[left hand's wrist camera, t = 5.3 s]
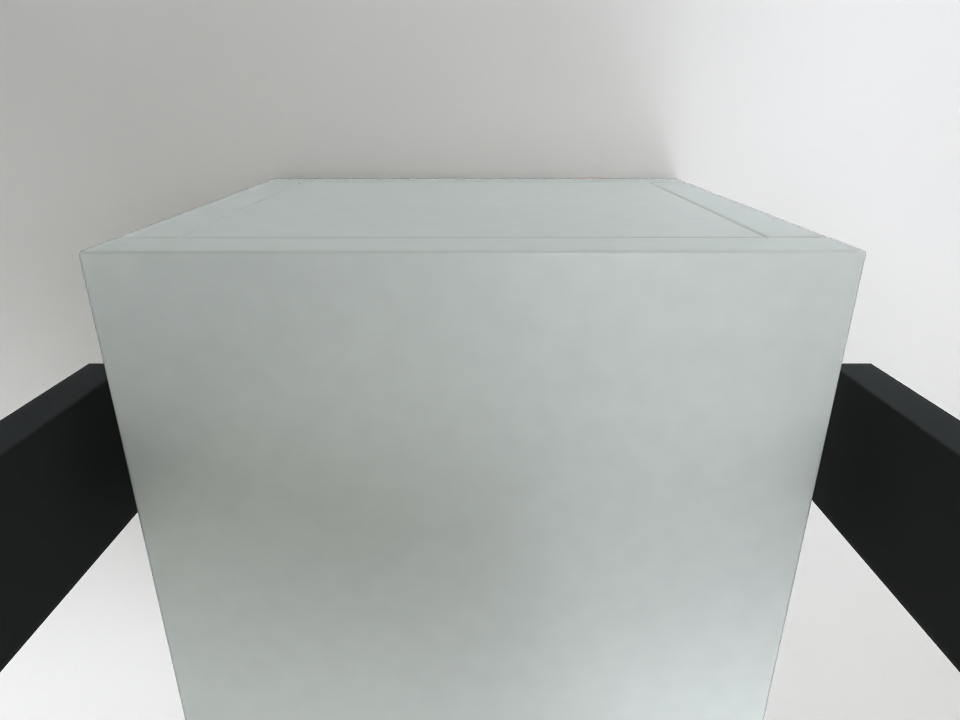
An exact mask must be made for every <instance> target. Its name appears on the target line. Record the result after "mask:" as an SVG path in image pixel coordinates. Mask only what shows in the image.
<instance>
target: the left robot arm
mask: <svg viewBox="0 0 960 720" xmlns="http://www.w3.org/2000/svg"><path fill="white" fill-rule="evenodd" d="M812 500H813V502H814V503H815V504H816V505H817V506H818V507H819V509H820V510H821V511H822V512H823V513H824V514H825V516H826V517H827V518H828V519H829V520H830V521H831V523H832V524H833V525H834V526H835V527H836V528H837V530H838V531H839V532H840V533H841V534H842V535H843V537H844V538H845V539H846V540H847V541H848V542H849V544H850V545H851V546H852V547H853V548H854V549H855V551H856V552H857V553H858V554H859V555H860V556H861V558H862V559H863V560H864V561H865V562H866V563H867V565H868V566H869V567H870V568H871V569H872V570H873V572H874V573H875V574H876V575H877V576H878V577H879V579H880V580H881V581H882V582H883V583H884V584H885V586H886V587H887V588H888V589H889V590H890V591H891V593H892V594H893V595H894V596H895V597H896V598H897V599H898V601H899V602H900V603H901V604H902V605H903V606H904V608H905V609H906V610H907V611H908V612H909V613H910V615H911V616H912V617H913V618H914V619H915V620H916V622H917V623H918V624H919V625H920V626H921V627H922V629H923V630H924V631H925V632H926V633H927V634H928V636H929V637H930V638H931V639H932V640H933V641H934V643H935V644H936V645H937V646H938V647H939V648H940V650H941V651H942V652H943V653H944V654H945V655H946V657H947V658H948V659H949V660H950V661H951V662H952V664H953V665H954V666H955V667H956V668H957V669H958V671H959V672H960V420H958V419H956V418H955V417H953V416H952V415H950V414H949V413H947V412H946V411H944V410H942V409H941V408H939V407H938V406H936V405H935V404H933V403H931V402H930V401H928V400H927V399H925V398H924V397H922V396H921V395H919V394H917V393H916V392H914V391H913V390H911V389H910V388H908V387H907V386H905V385H903V384H902V383H900V382H899V381H897V380H896V379H894V378H892V377H891V376H889V375H888V374H886V373H885V372H883V371H882V370H880V369H878V368H877V367H875V366H874V365H872V364H842V365H841V369H840V374H839V378H838V383H837V387H836V392H835V396H834V401H833V405H832V410H831V414H830V419H829V424H828V428H827V433H826V437H825V442H824V446H823V451H822V455H821V460H820V464H819V469H818V474H817V478H816V483H815V487H814V492H813V496H812ZM137 512H138V510H137V506H136V501H135V497H134V493H133V488H132V484H131V479H130V475H129V471H128V466H127V462H126V458H125V453H124V449H123V444H122V440H121V436H120V431H119V427H118V423H117V418H116V414H115V410H114V405H113V401H112V396H111V392H110V388H109V383H108V379H107V375H106V370H105V366H104V364H88V365H86V366H85V367H83V368H82V369H80V370H78V371H77V372H75V373H74V374H72V375H71V376H69V377H68V378H66V379H64V380H63V381H61V382H60V383H58V384H57V385H55V386H53V387H52V388H50V389H49V390H47V391H46V392H44V393H43V394H41V395H39V396H38V397H36V398H35V399H33V400H32V401H30V402H29V403H27V404H25V405H24V406H22V407H21V408H19V409H18V410H16V411H14V412H13V413H11V414H10V415H8V416H7V417H5V418H4V419H2V420H0V672H1V671H2V669H3V668H4V667H5V666H6V665H7V664H8V662H9V661H10V660H11V659H12V658H13V657H14V655H15V654H16V653H17V652H18V651H19V650H20V648H21V647H22V646H23V645H24V644H25V643H26V641H27V640H28V639H29V638H30V637H31V636H32V634H33V633H34V632H35V631H36V630H37V629H38V627H39V626H40V625H41V624H42V623H43V622H44V620H45V619H46V618H47V617H48V616H49V615H50V613H51V612H52V611H53V610H54V609H55V608H56V606H57V605H58V604H59V603H60V602H61V601H62V599H63V598H64V597H65V596H66V595H67V594H68V593H69V591H70V590H71V589H72V588H73V587H74V586H75V584H76V583H77V582H78V581H79V580H80V579H81V577H82V576H83V575H84V574H85V573H86V572H87V570H88V569H89V568H90V567H91V566H92V565H93V563H94V562H95V561H96V560H97V559H98V558H99V556H100V555H101V554H102V553H103V552H104V551H105V549H106V548H107V547H108V546H109V545H110V544H111V542H112V541H113V540H114V539H115V538H116V537H117V535H118V534H119V533H120V532H121V531H122V530H123V528H124V527H125V526H126V525H127V524H128V523H129V521H130V520H131V519H132V518H133V517H134V516H135V514H136V513H137Z"/></svg>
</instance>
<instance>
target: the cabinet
mask: <svg viewBox="0 0 960 720" xmlns="http://www.w3.org/2000/svg"><path fill="white" fill-rule="evenodd" d="M865 256H866V252H865V251H864V250H861V249H859V248H856V247H853V246H851V245H848V244H846V243H843V242H840V241H838V240H835V239H833V238H828V237H825V236H823V235H820V234H818V233H815V232H813V231H810V230H807V229H805V228H802V227H800V226H797V225H794V224H792V223H789V222H787V221H784V220H782V219H779V218H776V217H774V216H771V215H769V214H766V213H763V212H761V211H758V210H756V209H753V208H751V207H748V206H745V205H743V204H740V203H738V202H735V201H732V200H730V199H727V198H725V197H722V196H720V195H717V194H714V193H712V192H709V191H707V190H704V189H701V188H699V187H696V186H694V185H691V184H688V183H686V182H683V181H681V180H678V179H273V180H270V181H267V182H265V183H261V184H259V185H256V186H253V187H251V188H248V189H245V190H243V191H240V192H237V193H235V194H232V195H229V196H227V197H224V198H221V199H219V200H216V201H213V202H211V203H208V204H205V205H203V206H200V207H198V208H195V209H192V210H190V211H187V212H184V213H182V214H179V215H176V216H174V217H171V218H168V219H166V220H163V221H160V222H158V223H155V224H152V225H150V226H147V227H144V228H142V229H139V230H136V231H134V232H131V233H128V234H126V235H123V236H120V237H118V238H114V239H112V240H109V241H106V242H104V243H101V244H98V245H96V246H93V247H90V248H88V249H85V250H82V251H80V252H79V257H80V261H81V265H82V270H83V274H84V278H85V283H86V287H87V292H88V296H89V300H90V305H91V309H92V313H93V318H94V322H95V327H96V331H97V335H98V340H99V344H100V348H101V353H102V357H103V361H104V366H105V370H106V375H107V379H108V383H109V388H110V392H111V396H112V401H113V405H114V410H115V414H116V418H117V423H118V427H119V431H120V436H121V440H122V444H123V449H124V453H125V458H126V462H127V466H128V471H129V475H130V479H131V484H132V488H133V493H134V497H135V501H136V506H137V510H138V514H139V519H140V523H141V527H142V532H143V536H144V541H145V545H146V549H147V554H148V558H149V562H150V567H151V571H152V576H153V580H154V584H155V589H156V593H157V597H158V602H159V606H160V610H161V615H162V619H163V624H164V628H165V632H166V637H167V641H168V645H169V650H170V654H171V659H172V663H173V667H174V672H175V676H176V680H177V685H178V689H179V693H180V698H181V702H182V707H183V711H184V715H185V720H763V719H764V714H765V710H766V705H767V701H768V696H769V691H770V687H771V682H772V678H773V673H774V669H775V664H776V660H777V655H778V651H779V646H780V641H781V637H782V632H783V628H784V623H785V619H786V614H787V610H788V605H789V601H790V596H791V592H792V587H793V582H794V578H795V573H796V569H797V564H798V560H799V555H800V551H801V546H802V542H803V537H804V533H805V528H806V523H807V519H808V514H809V510H810V505H811V501H812V496H813V492H814V487H815V483H816V478H817V474H818V469H819V464H820V460H821V455H822V451H823V446H824V442H825V437H826V433H827V428H828V424H829V419H830V414H831V410H832V405H833V401H834V396H835V392H836V387H837V383H838V378H839V374H840V369H841V365H842V360H843V355H844V351H845V346H846V342H847V337H848V333H849V328H850V324H851V319H852V315H853V310H854V306H855V301H856V296H857V292H858V287H859V283H860V278H861V274H862V269H863V265H864V260H865Z"/></svg>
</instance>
